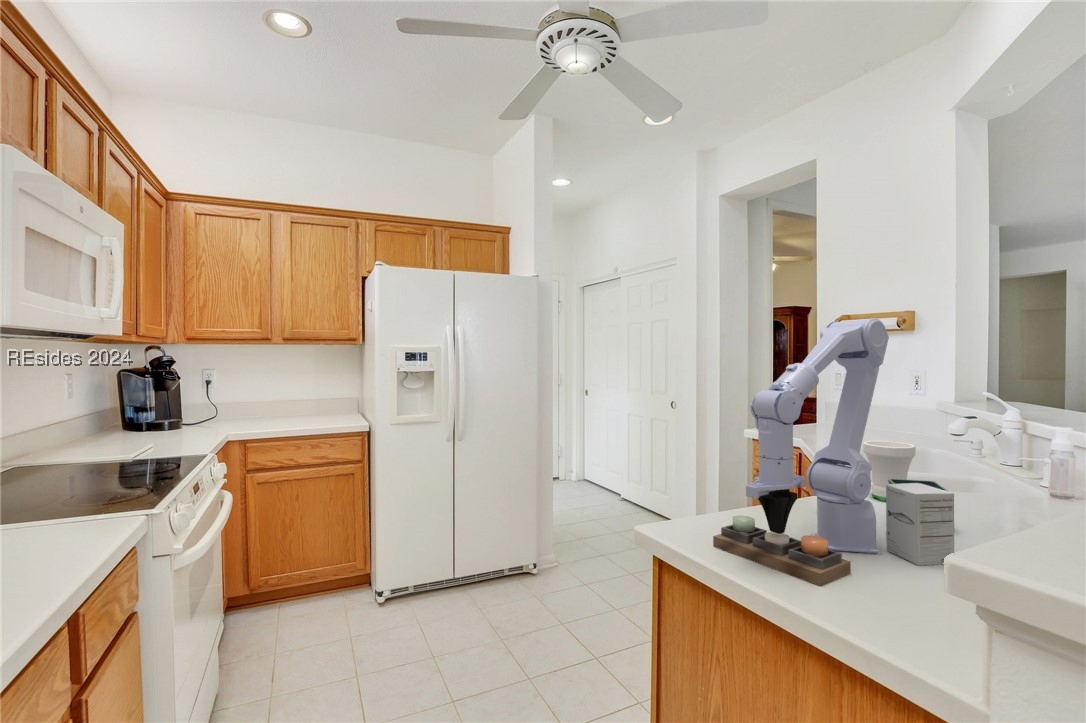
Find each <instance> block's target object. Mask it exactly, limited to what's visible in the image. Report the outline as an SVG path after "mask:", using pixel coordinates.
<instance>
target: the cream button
mask: <svg viewBox="0 0 1086 723" xmlns="http://www.w3.org/2000/svg"><path fill="white" fill-rule="evenodd" d="M789 537H790V536H789V535H788V534H786V533H785V532H784V533H781V534H778V533H775V532H771V531H767V533H765V541H768V542H771V543H774V544H777V545H780V546H782V545H785V544H788V543H789Z"/></svg>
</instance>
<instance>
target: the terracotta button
mask: <svg viewBox="0 0 1086 723" xmlns="http://www.w3.org/2000/svg"><path fill="white" fill-rule="evenodd" d="M800 541H801V550H802V551H803V552H804V553H807V554H810V555H815V556H826V555H828V540H826V539H824V538H822V537H817V536H811V535H803V536H801V539H800Z"/></svg>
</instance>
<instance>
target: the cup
mask: <svg viewBox="0 0 1086 723" xmlns="http://www.w3.org/2000/svg"><path fill="white" fill-rule="evenodd" d="M916 448H917V447H916V445H914V444H912V443H908V442H902V441H891V440H866V441H864V442H862V450H863V453H864V454H865V456H866V459H867V461H868V462H869V464H870V465H871V466H872V468H871V478H872V480H871V481H872V483H871V496H872V498H874V499H878V500H879V501H880V502H886V484H889V482H888V479H903V480H908V478H907V477H908V472H909V470H910V467H911V466H910V465H911V463H912V461H913V458H915V456H916V452H917V449H916Z"/></svg>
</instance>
